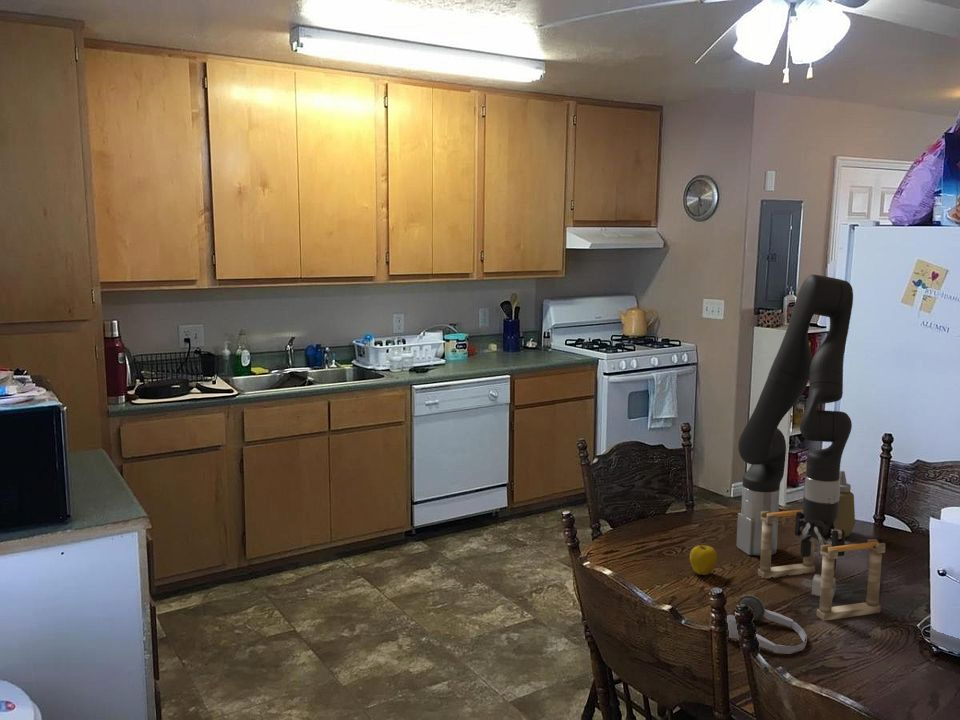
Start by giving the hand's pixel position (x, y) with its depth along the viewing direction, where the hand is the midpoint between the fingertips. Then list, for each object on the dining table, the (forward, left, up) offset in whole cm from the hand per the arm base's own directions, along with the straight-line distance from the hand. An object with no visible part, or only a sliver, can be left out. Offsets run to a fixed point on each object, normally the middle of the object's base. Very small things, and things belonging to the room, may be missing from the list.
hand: (817, 563), depth 182 cm
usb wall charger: (0, 0, -7) cm, 7 cm away
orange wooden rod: (0, +11, +8) cm, 14 cm away
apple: (-20, +16, -7) cm, 27 cm away
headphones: (-23, -12, -8) cm, 27 cm away
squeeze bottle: (+30, +30, -7) cm, 43 cm away
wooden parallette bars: (0, 0, -7) cm, 7 cm away
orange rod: (0, -11, +8) cm, 14 cm away
